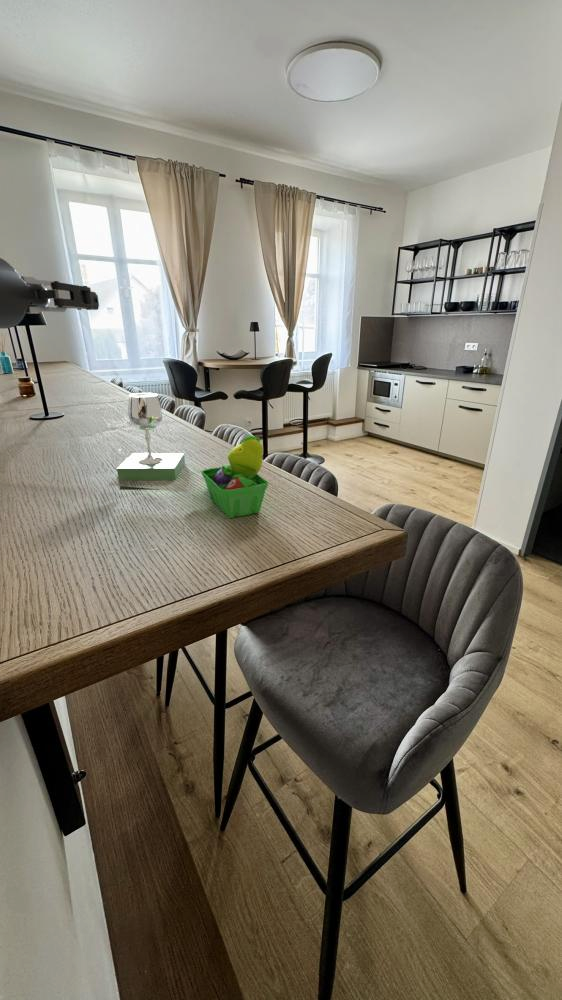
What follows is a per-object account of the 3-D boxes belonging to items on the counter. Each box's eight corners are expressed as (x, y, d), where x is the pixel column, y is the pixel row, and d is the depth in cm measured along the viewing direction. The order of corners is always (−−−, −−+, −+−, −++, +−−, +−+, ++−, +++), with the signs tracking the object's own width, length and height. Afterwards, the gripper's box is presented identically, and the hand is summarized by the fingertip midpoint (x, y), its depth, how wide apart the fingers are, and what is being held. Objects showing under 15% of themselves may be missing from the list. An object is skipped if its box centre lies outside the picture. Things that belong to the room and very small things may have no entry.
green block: (119, 489, 73) (116, 468, 72) (135, 472, 82) (132, 453, 81) (176, 489, 74) (174, 468, 72) (185, 472, 83) (184, 453, 82)
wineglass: (173, 459, 77) (167, 394, 73) (149, 467, 73) (141, 397, 68) (151, 455, 80) (144, 391, 75) (127, 462, 75) (118, 395, 71)
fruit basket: (201, 498, 70) (196, 432, 66) (248, 490, 74) (247, 428, 70) (224, 523, 61) (221, 449, 56) (277, 513, 64) (278, 442, 60)
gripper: (13, 245, 40) (110, 270, 55) (-104, 249, 43) (19, 271, 58) (29, 328, 43) (117, 330, 58) (-81, 327, 46) (30, 329, 60)
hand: (68, 301), depth 58 cm, fingers open, 8 cm apart
